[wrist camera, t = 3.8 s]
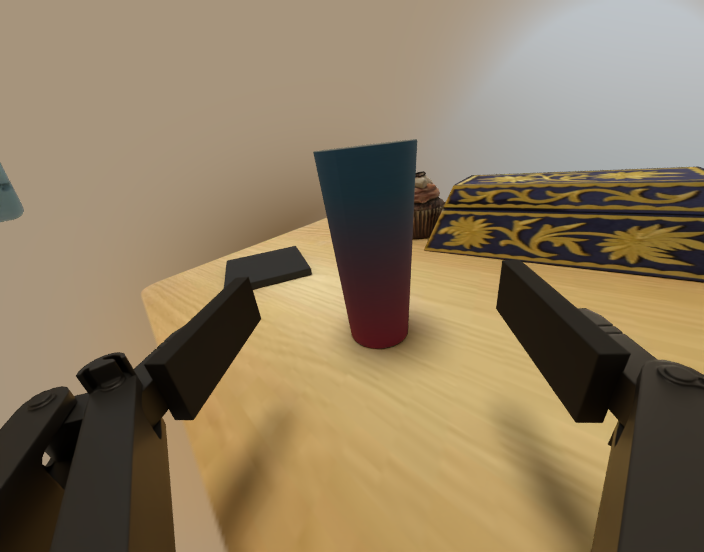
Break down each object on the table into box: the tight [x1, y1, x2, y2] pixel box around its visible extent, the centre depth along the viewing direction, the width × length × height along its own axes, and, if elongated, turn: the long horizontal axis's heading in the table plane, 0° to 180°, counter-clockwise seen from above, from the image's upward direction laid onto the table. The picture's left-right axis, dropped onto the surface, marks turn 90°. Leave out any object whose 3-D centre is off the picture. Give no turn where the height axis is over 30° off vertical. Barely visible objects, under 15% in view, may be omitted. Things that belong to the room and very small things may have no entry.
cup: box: [314, 139, 417, 349], centre depth 22 cm, size 7×7×15 cm
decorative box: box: [424, 167, 704, 282], centre depth 34 cm, size 11×30×9 cm, turn 55°
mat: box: [224, 246, 312, 289], centre depth 40 cm, size 11×11×1 cm
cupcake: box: [412, 172, 446, 239], centre depth 47 cm, size 10×10×10 cm
